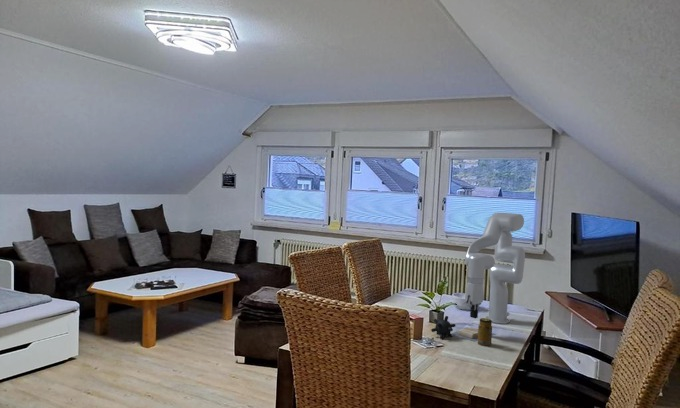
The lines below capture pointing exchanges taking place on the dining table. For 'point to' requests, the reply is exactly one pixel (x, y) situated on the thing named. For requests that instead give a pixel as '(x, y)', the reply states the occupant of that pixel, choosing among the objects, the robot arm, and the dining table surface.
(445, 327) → the toy ball
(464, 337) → the rubber mat
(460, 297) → the paper bowls
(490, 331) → the condiment
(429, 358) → the dining table surface
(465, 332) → the birch tile
